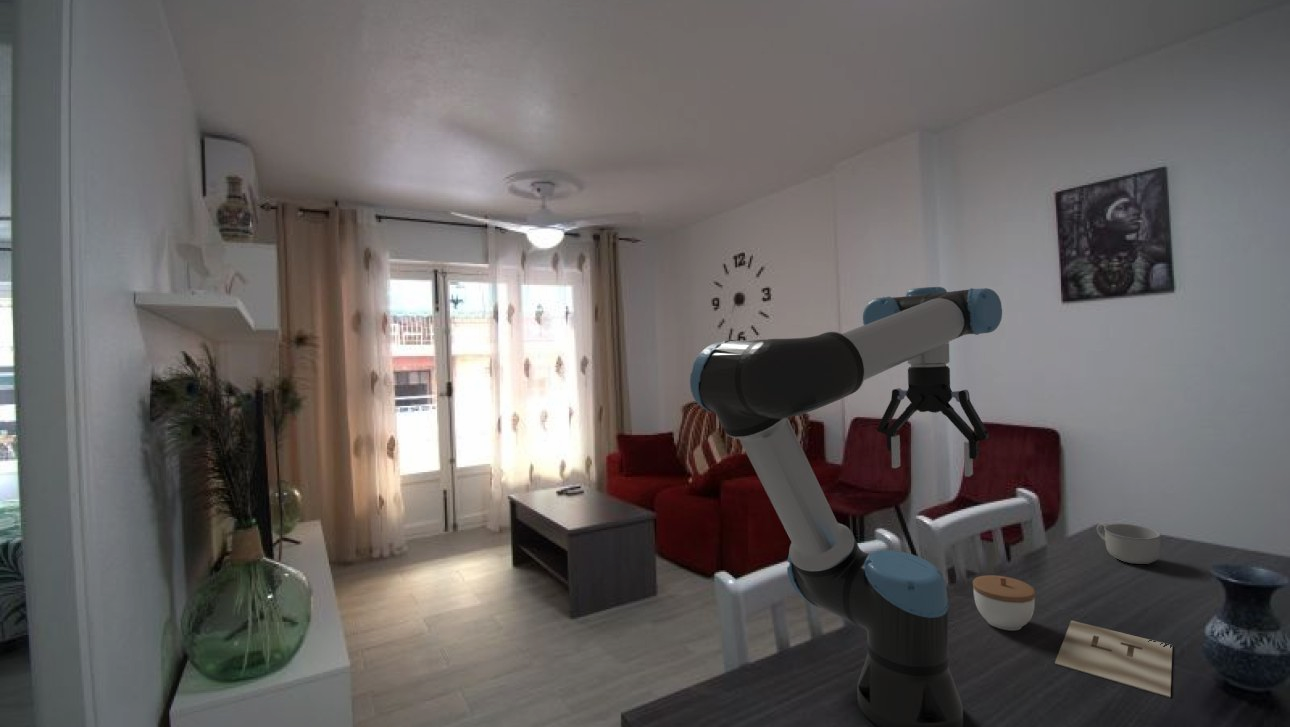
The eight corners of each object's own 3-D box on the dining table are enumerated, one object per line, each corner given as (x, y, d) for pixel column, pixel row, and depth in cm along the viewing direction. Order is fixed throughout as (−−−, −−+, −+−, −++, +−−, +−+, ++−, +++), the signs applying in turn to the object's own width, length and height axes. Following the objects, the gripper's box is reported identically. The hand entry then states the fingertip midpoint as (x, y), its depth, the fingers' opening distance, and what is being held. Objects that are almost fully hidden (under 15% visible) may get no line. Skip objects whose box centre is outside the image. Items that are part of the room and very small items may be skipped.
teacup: (1173, 568, 138) (1172, 535, 138) (1129, 570, 138) (1129, 537, 138) (1123, 548, 152) (1123, 518, 152) (1084, 549, 152) (1083, 520, 152)
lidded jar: (1046, 638, 109) (1045, 590, 109) (985, 634, 111) (984, 587, 111) (1021, 612, 119) (1020, 568, 119) (965, 609, 121) (964, 566, 121)
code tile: (1170, 697, 90) (1170, 696, 90) (1054, 663, 100) (1054, 662, 100) (1172, 646, 104) (1172, 644, 104) (1071, 621, 115) (1071, 620, 115)
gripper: (1005, 364, 107) (1007, 475, 108) (873, 364, 125) (876, 460, 125) (995, 366, 102) (998, 483, 103) (859, 366, 119) (862, 466, 120)
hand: (931, 471), depth 114 cm, fingers open, 13 cm apart
